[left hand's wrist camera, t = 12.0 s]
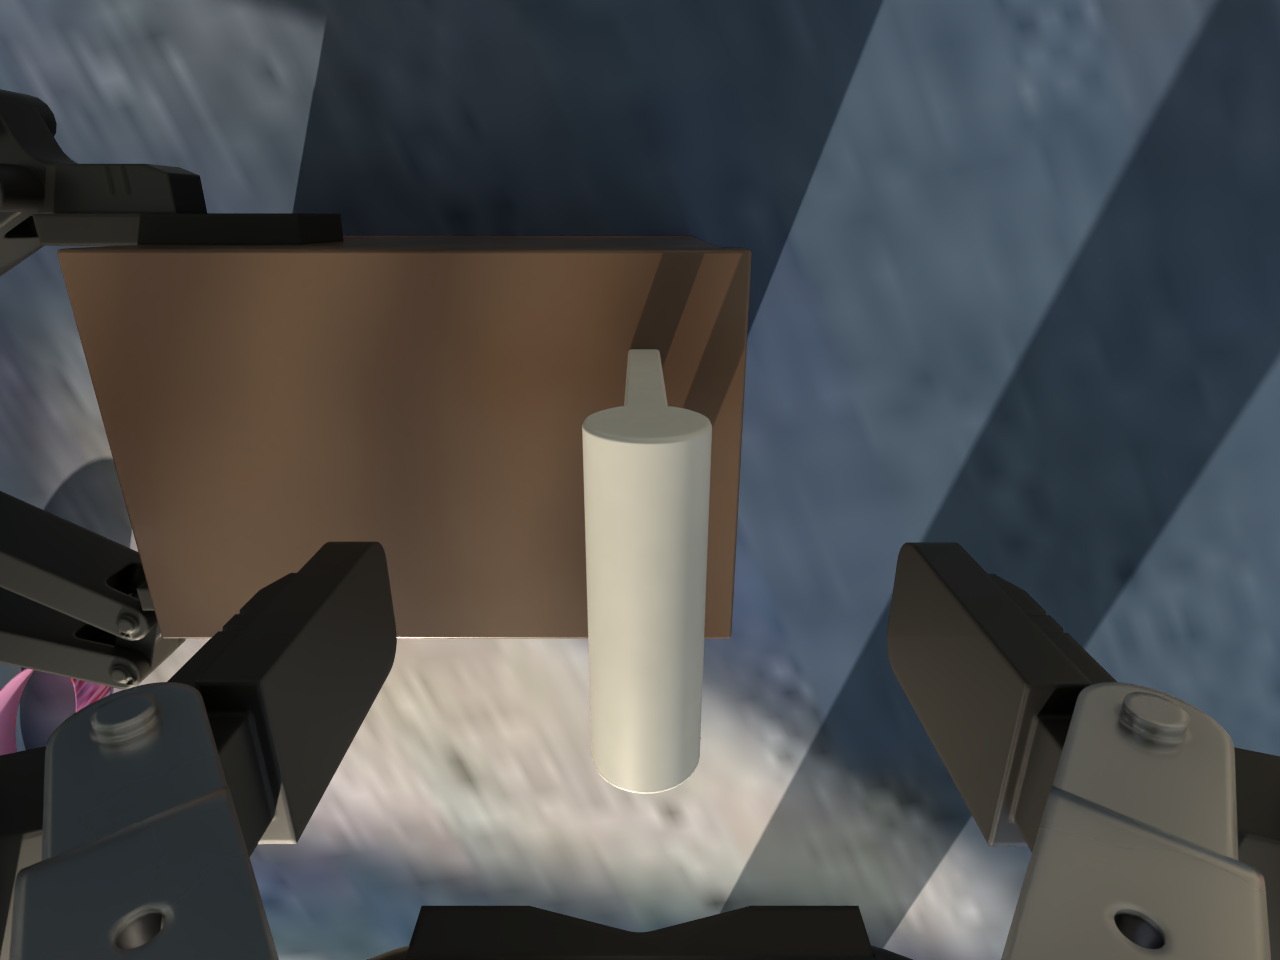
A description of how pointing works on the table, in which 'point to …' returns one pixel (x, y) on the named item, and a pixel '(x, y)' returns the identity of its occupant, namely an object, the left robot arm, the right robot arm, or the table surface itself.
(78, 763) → the left robot arm
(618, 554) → the lid
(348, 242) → the chest
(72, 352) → the table surface
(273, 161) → the table surface
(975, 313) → the table surface
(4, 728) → the pink hollow oval piece
